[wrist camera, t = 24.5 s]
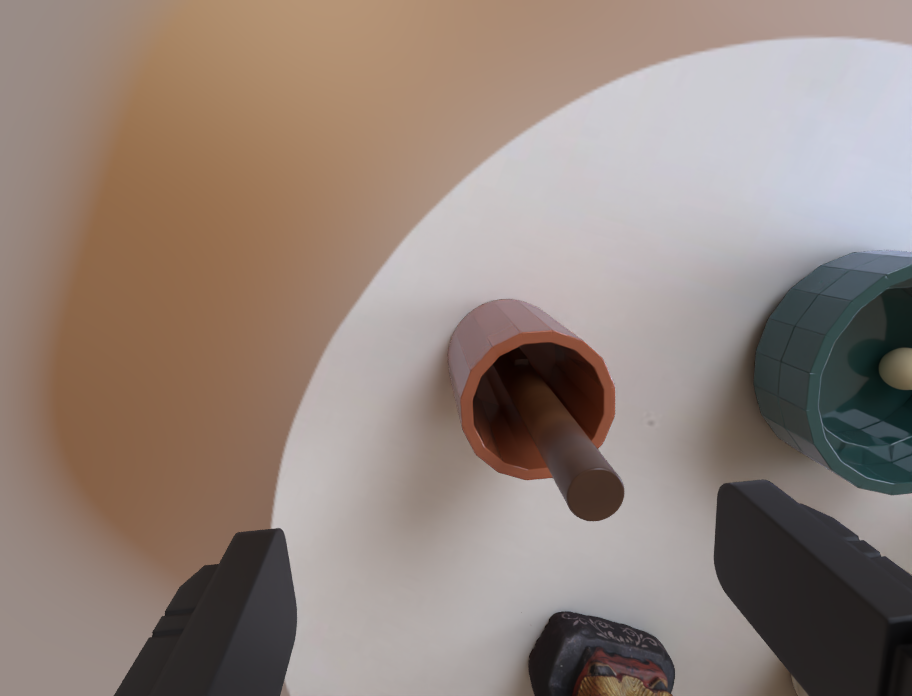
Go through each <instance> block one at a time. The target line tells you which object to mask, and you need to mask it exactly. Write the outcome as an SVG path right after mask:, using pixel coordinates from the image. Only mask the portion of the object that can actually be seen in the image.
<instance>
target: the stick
mask: <svg viewBox="0 0 912 696" xmlns="http://www.w3.org/2000/svg"><path fill="white" fill-rule="evenodd" d="M493 366H494V368H495V370H496V372H497V374H498V375H499V377H500V379H501V381H502V383H503V385H504V387H505V389H506V390H507V392H508V394H509V396H510V398H511V400H512V402H513V404H514V405H515V407H516V409H517V411H518V413H519V415H520V417H521V419H522V420H523V422H524V424H525V426H526V428H527V430H528V432H529V434H530V435H531V437H532V439H533V441H534V443H535V445H536V447H537V449H538V450H539V452H540V454H541V456H542V458H543V460H544V462H545V464H546V465H547V467H548V469H549V471H550V473H551V475H552V477H553V479H554V480H555V482H556V484H557V486H558V488H559V490H560V492H561V494H562V495H563V497H564V499H565V501H566V503H567V505H568V507H569V509H570V510H571V511H572V513H573V514H574V515H576V516H577V517H579V518H581V519H583V520H587V521H600V520H603V519H606V518H608V517H610V516H611V515H613V514H614V513H615V512H616V511H617V510H618V509H619V507H620V506H621V504H622V502H623V498H624V485H623V482H622V480H621V478H620V477H619V476H618V474H617V473H616V472H615V470H614V469H613V468H612V467H611V465H610V464H609V463H608V462H607V460H606V459H605V458H604V457H603V455H602V454H601V453H600V451H599V450H598V449H597V448H596V446H595V445H594V444H593V443H592V441H591V440H590V439H589V437H588V436H587V435H586V434H585V432H584V431H583V430H582V429H581V427H580V426H579V425H578V423H577V422H576V421H575V420H574V418H573V417H572V416H571V415H570V413H569V412H568V411H567V409H566V408H565V407H564V406H563V404H562V403H561V402H560V401H559V399H558V398H557V397H556V395H555V394H554V393H553V392H552V390H551V389H550V388H549V387H548V385H547V384H546V383H545V382H544V380H543V379H542V378H541V376H540V375H539V374H538V373H537V371H536V370H535V369H534V368H533V366H532V365H531V364H530V362H529V361H528V358H527V357H526V355H525V354H524V353H523V352H522V350H521V349H520V348H519V347H518V348H516V349H514V350H511V351H509V352H507V353H505V354H503V355H501V356H500V357H499V358H498V359H497V360H496V361H495V362H494V363H493Z"/></svg>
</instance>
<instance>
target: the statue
mask: <svg viewBox="0 0 912 696" xmlns="http://www.w3.org/2000/svg"><path fill="white" fill-rule="evenodd" d="M521 613H522V612H521ZM536 642H537V643H536V646H535V648H534V649H533V650H532V651H531V654H530V656H529V658H530V659H529V675H530V680H531V684H532V688H533V691H534V695H535V696H673V695H672V694H671V692H672V689H673V685H674V679H675V668H674V665H673V662H672V660H671V658H670V656H669V655H668V653H667V651H666V650H665V648H664V646H663V645H662V644H661V642H660V641H659V640H658V639H657V638H656V637H654V636H652V635H650V634H648V633H646V632H644V631H640V630H638V629H634V628H632V627H630V626H627V625H624V624H618V623H615V622H611V621H609V620H605V619H602V618H598V617H593V616H586V615H582V614H578V613H573V612H558V613H556V614H554V615H553V616H552V617H551V618H550V619H549V624H548V625H546V626H545V630H544V631H543V632H542V634H541V637H540V638H539V639H538V640H537V641H536Z"/></svg>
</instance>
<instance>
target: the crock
mask: <svg viewBox="0 0 912 696" xmlns="http://www.w3.org/2000/svg"><path fill="white" fill-rule="evenodd" d="M518 347H519V348H520V349H521V350H522V352H523V353H524V354H525V355H526V357H527V358H528V361H529V362H530V364H531V365H532V366H533V368H534V369H535V370H536V371H537V373H538V374H539V375H540V376H541V378H542V379H543V380H544V382H545V383H546V384H547V385H548V387H549V388H550V389H551V390H552V392H553V393H554V394H555V395H556V397H557V398H558V399H559V401H560V402H561V403H562V404H563V406H564V407H565V408H566V409H567V411H568V412H569V413H570V415H571V416H572V417H573V418H574V420H575V421H576V422H577V423H578V425H579V426H580V427H581V429H582V430H583V431H584V432H585V434H586V435H587V436H588V437H589V439H590V440H591V441H592V443H593V444H594V445H595V446H596V448H597V449H598V448H599V447H600V446H601V445H602V444H603V442H604V440H605V438H606V436H607V433H608V431H609V428H610V426H611V424H612V421H613V419H614V415H615V384H614V382H613V380H612V377H611V375H610V373H609V370H608V368H607V366H606V364H605V361H604V360H603V358H602V357H601V356H599V355H598V354H597V353H596V352H595V351H594V350H593V349H592V348H591V347H589V346H588V345H587V344H586V343H585V342H584V341H583V340H582V339H580V338H579V337H578V336H576V335H575V334H574V333H572V332H571V331H569V330H568V329H567V328H565V327H564V326H563V325H561V324H560V323H559V322H557V321H556V320H555V319H553V318H552V317H551V316H549V315H548V314H547V313H545V312H544V311H543V310H541V309H540V308H539V307H537V306H534V305H532V304H529V303H527V302H524V301H520V300H513V299H501V300H495V301H491V302H488V303H485V304H483V305H481V306H479V307H477V308H475V309H474V310H472V311H471V312H470V313H469V314H467V315H466V316H465V317H464V318H463V319H462V321H461V322H460V323H459V324H458V326H457V328H456V329H455V331H454V333H453V335H452V338H451V341H450V344H449V349H448V365H449V375H450V379H451V383H452V387H453V392H454V396H455V400H456V405H457V409H458V413H459V417H460V422H461V426H462V430H463V432H464V434H465V436H466V437H467V439H468V441H469V443H470V445H471V447H472V449H473V451H474V453H475V454H476V455H477V456H478V457H479V458H481V459H482V460H483V461H484V462H486V463H487V464H488V465H489V466H491V467H492V468H493V469H494V470H496V471H497V472H499V473H502V474H506V475H509V476H513V477H516V478H520V479H524V480H533V479H544V478H553V477H552V475H551V473H550V471H549V469H548V467H547V465H546V464H545V462H544V460H543V458H542V456H541V454H540V452H539V450H538V449H537V447H536V445H535V443H534V441H533V439H532V437H531V435H530V434H529V432H528V430H527V428H526V426H525V424H524V422H523V420H522V419H521V417H520V415H519V413H518V411H517V409H516V407H515V405H514V404H513V402H512V400H511V398H510V396H509V394H508V392H507V390H506V389H505V387H504V385H503V383H502V381H501V379H500V377H499V375H498V374H497V372H496V370H495V368H494V366H493V363H494V362H495V361H496V360H497V359H498V358H499V357H500V356H501V355H503V354H505V353H507V352H509V351H511V350H514V349H516V348H518Z"/></svg>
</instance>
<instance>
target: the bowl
mask: <svg viewBox="0 0 912 696" xmlns="http://www.w3.org/2000/svg"><path fill="white" fill-rule="evenodd" d="M898 348H912V252H907V251H895V250H878V251H864V252H854V253H851V254H848V255H846V256H843V257H841V258H838V259H836V260H833V261H831V262H828V263H826V264H823V265H821V266H819V267H818V268H817V269H815V270H814V271H813V272H812V273H810V274H809V275H808V276H806V277H805V278H804V279H803V280H801V281H800V282H799V283H797V284H796V285H795V286H794V287H792V288H791V289H790V290H789V291H788V293H787V294H786V295H785V297H784V298H783V300H782V301H781V302H780V304H779V305H778V306H777V308H776V309H775V310H774V312H773V313H772V314H771V316H770V317H769V319H768V321H767V323H766V326H765V328H764V331H763V334H762V336H761V339H760V341H759V344H758V347H757V349H756V357H755V371H754V389H755V393H756V396H757V400H758V404H759V408H760V412H761V414H762V416H763V417H764V419H765V420H766V422H767V423H768V424H769V426H770V427H771V428H772V430H773V431H774V433H775V434H776V435H777V437H778V438H779V439H781V440H782V441H784V442H785V443H787V444H788V445H790V446H791V447H793V448H795V449H796V450H798V451H799V452H801V453H802V454H804V455H806V456H807V457H809V458H810V459H812V460H814V461H815V462H817V463H819V464H820V465H822V466H823V467H825V468H827V469H828V470H830V471H831V472H833V473H835V474H836V475H838V476H840V477H841V478H843V479H844V480H846V481H848V482H849V483H851V484H853V485H854V486H856V487H857V488H861V489H865V490H870V491H874V492H879V493H884V494H888V495H900V494H910V493H912V390H901V389H896V388H894V387H891V386H890V385H888V384H887V383H886V382H884V380H883V379H882V378H881V376H880V374H879V363H880V361H881V359H882V358H883V356H884V355H885V354H887V353H888V352H890V351H892V350H894V349H898Z"/></svg>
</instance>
